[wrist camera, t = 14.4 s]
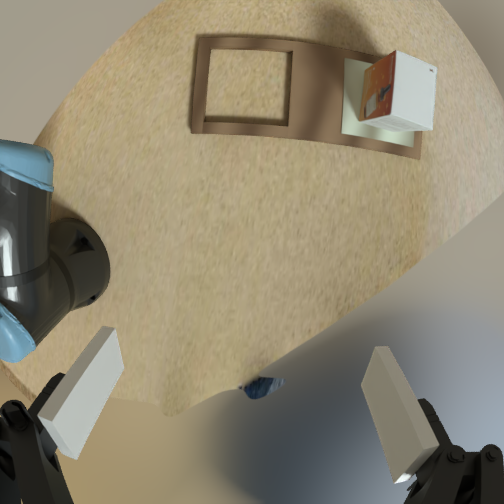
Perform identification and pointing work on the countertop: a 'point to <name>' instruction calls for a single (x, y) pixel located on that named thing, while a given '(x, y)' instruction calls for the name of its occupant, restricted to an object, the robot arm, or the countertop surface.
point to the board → (308, 97)
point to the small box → (399, 94)
